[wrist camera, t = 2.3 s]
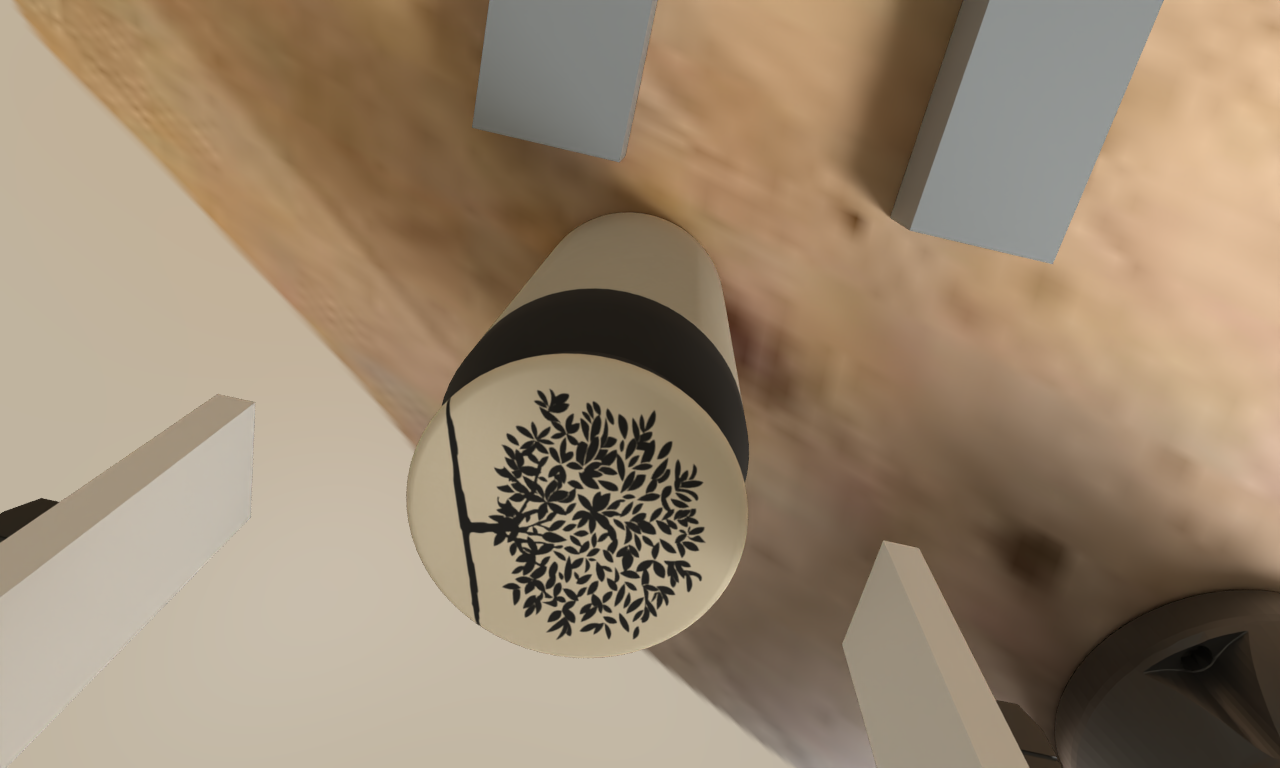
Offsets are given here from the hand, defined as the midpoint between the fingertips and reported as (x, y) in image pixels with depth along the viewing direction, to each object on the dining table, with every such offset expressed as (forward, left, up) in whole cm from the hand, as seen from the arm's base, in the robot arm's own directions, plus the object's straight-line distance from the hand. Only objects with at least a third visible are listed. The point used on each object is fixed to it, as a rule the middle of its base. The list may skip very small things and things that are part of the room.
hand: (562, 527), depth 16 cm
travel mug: (0, 0, -19) cm, 19 cm away
